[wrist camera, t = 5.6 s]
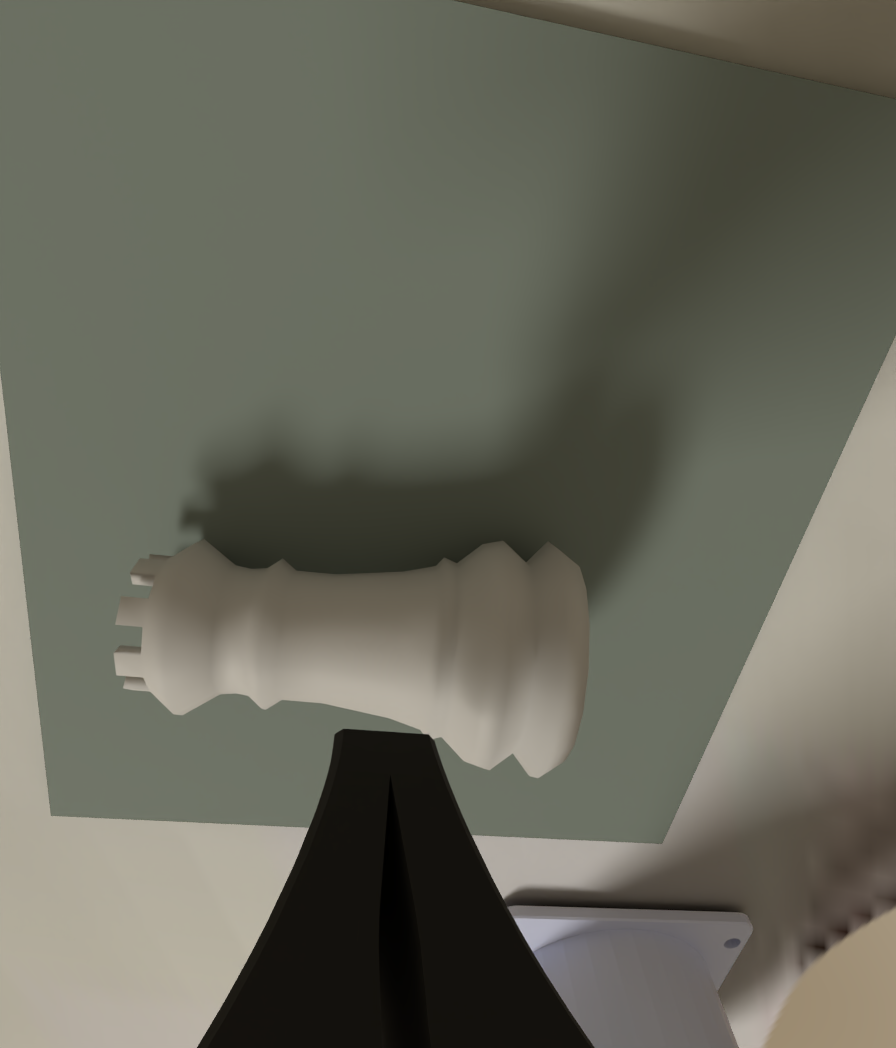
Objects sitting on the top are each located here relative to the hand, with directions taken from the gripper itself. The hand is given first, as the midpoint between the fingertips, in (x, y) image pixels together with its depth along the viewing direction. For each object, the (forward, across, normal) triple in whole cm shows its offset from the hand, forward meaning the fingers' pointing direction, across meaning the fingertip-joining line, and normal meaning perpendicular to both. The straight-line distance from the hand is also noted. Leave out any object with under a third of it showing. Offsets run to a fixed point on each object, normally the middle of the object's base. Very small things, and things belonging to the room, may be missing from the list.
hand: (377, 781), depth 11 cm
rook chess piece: (+3, -4, 0) cm, 5 cm away
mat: (+6, -1, -1) cm, 6 cm away
